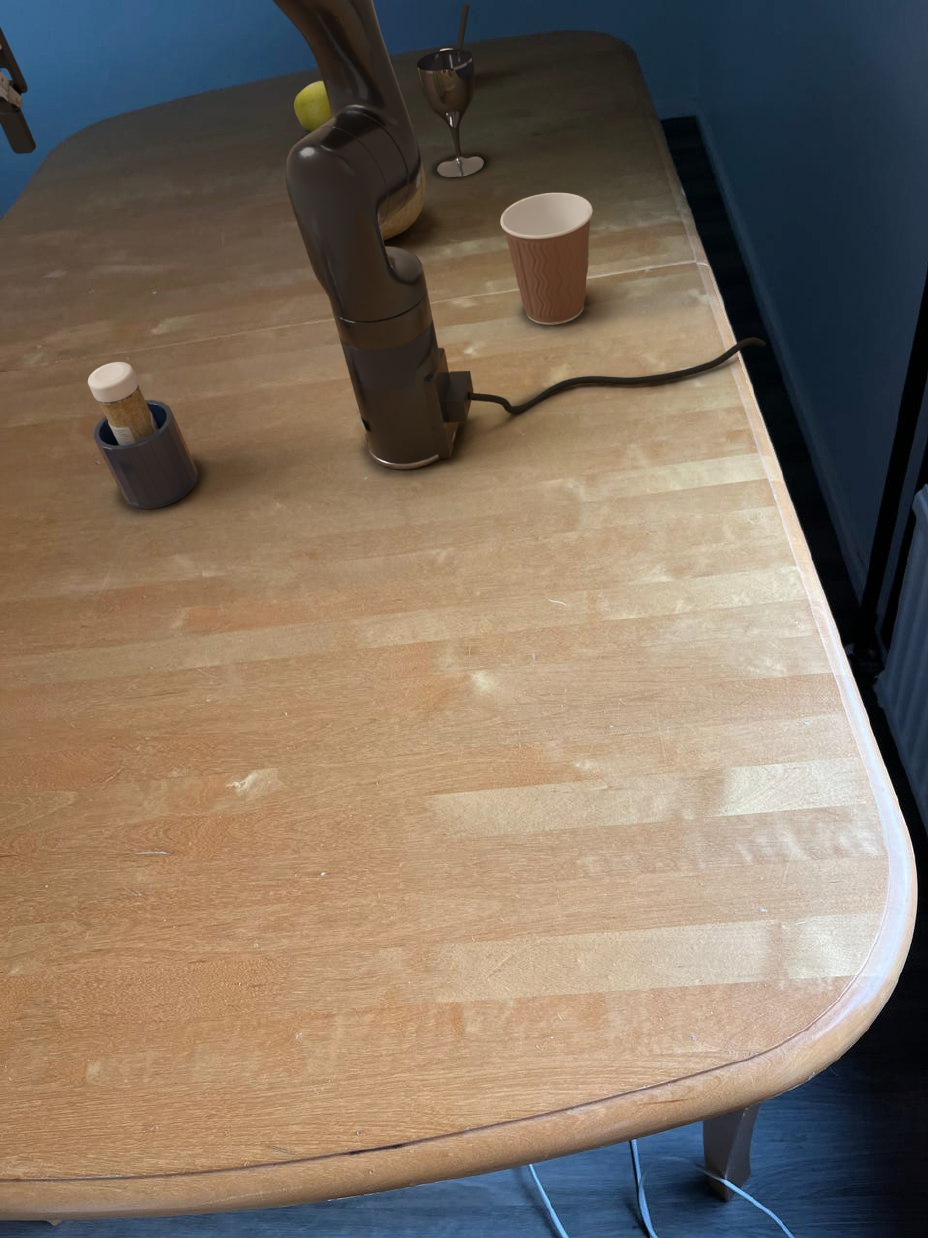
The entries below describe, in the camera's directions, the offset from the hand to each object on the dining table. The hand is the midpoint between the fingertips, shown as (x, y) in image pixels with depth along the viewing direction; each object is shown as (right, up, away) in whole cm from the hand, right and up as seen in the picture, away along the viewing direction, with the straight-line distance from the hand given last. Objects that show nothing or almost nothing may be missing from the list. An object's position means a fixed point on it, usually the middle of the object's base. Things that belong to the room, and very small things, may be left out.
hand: (6, 171), depth 95 cm
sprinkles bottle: (+10, -27, +15) cm, 32 cm away
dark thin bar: (+41, +49, +81) cm, 103 cm away
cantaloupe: (+31, +12, +48) cm, 58 cm away
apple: (+20, +39, +76) cm, 87 cm away
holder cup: (+10, -27, +15) cm, 33 cm away
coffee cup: (+53, -5, +28) cm, 60 cm away
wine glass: (+42, +26, +59) cm, 77 cm away
